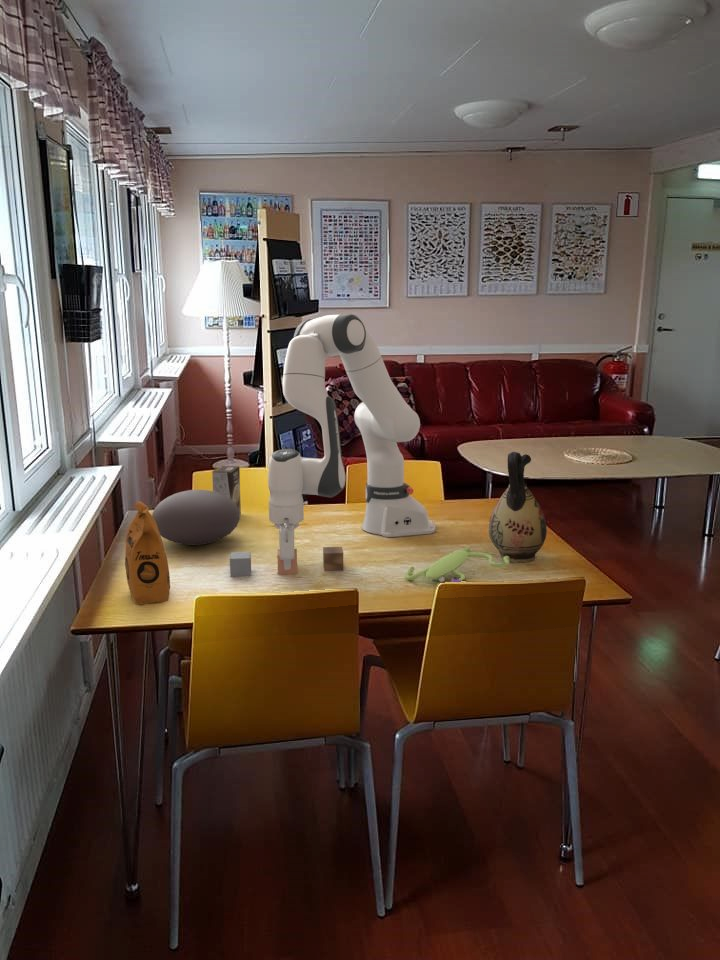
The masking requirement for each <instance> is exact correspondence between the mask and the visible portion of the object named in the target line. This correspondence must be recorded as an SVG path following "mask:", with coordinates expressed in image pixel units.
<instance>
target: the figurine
mask: <svg viewBox="0 0 720 960" xmlns="http://www.w3.org/2000/svg"><path fill="white" fill-rule="evenodd" d="M471 551H472V549H471V547H467V546H466V547H464V548H462V549H461V550H454V551H452V552H451V553H449V554H447V555H445V556H443V557H441V558H439V559H437V560H436V561H435V562H434V563H433V564H432V565H430V566H428V567H426V568H424V569H423V570H420V571H418V572H416V573H413V572H414V571H415V567H414V566H410V567H409V569H408V570H407V571H406V573H405V575H404V579H405V580H407V581H412V580H413V581H414V580H417V579H418V578H419V577H422V576H423V575H424V574H425V578H427V579H428V580H432V581H434V580H436V579H438V581H439V582H440V583H444V582H445V576H447V575H449V574H451V573H452V574H453V575H455V576H453V577H452V578H451V580H450V582H461V581H467V580H466V575H465V574H464V573H461V572H460V571H457V569H458V568H460V567H461V566H462V565H463V564H464V563H465V562H466V560H467V559H468V558H482V559H483V558H484V559H487V560H488V562H489V565H490V566H491V567H494V568H500V567H506V566H508V565H509V564H510V562H509V557H508V556H505V557H503V558H502V560H503V562H494V559H493V558H494V557H493V556H492V555H491V554H487V553H486V552H485V553H483V552H471ZM458 577H460V578H458Z"/></svg>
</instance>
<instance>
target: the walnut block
mask: <svg viewBox="0 0 720 960" xmlns="http://www.w3.org/2000/svg"><path fill="white" fill-rule="evenodd" d="M322 549H323V550H322V560H323V562H322V563H323V564H322V565H323V572H341V571H342V572H344V550H343V549H344V548H343V546H323V547H322Z"/></svg>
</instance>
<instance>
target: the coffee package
mask: <svg viewBox="0 0 720 960" xmlns="http://www.w3.org/2000/svg"><path fill="white" fill-rule="evenodd" d="M134 508H135V509H136V511H137V512H136V514H135V516H134V518H133V519H132V521H131V523H130V525H129V526H128V528H127V530H126V534H125V535H126V537H125V556H124V558H125V559H124V560H125V561H124V564H125V574H126V581H127V585H128V589H129V591H130V594H131V597H132V599H133V601H134V603H136V605H143V604H147V605H148V604H149V605H150V604H153V603H156V604H157V603H162V602H163V603H164V602H167V601H168V600H169V597H170V596H169V595H170V588H171V578H170V577H171V576H170V568H169V561H168V556H167V553H166V548H165V544H164V541H163V539H162V538H163V537H162V536H161V535H160V533H159V530H158V527H157V523H156V521H155V520H154V518H153V516H152V513H150V512H149V506H147V505H146V504H145V503H143V502H142V501H137V502H135V504H134Z"/></svg>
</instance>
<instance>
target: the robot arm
mask: <svg viewBox="0 0 720 960" xmlns="http://www.w3.org/2000/svg"><path fill="white" fill-rule="evenodd" d="M335 356H339V357H340V359H341V362H342V365H343V367H344V370H345V372H346V375H347V377H348V379H349V382H350V384H351V388H352V390H353V392H354V394H355V395H356V396H357V397H358V398H359V400H361V402H360V403H359V404H358V405H357V407H356V408H355V411H354V415H353V418H354V423H355V425H356V427H357V428H358V430H359V432H360V434H361V437H362V441H363V442H362V443H363V445H364V449H365V455H366V462H367V463H366V464H367V466H366V468H367V469H366V472H367V474H366V475H367V482H366V483H365V493H364V494H365V496H364V497H365V502H366V505H365V512H364V517H363V522H362V525H361V529H362V530H363V531H364V532H367V533H370V534H375V535H379V536H383V537H385V538H393V537H394V538H395V537H404V536H417V535H418V536H419V535H427V534H429V535H430V534H434V533H435V532H436V525H435V522H434V521H433V520H431V519H429V516H428V511H427V509H426V507H425V505H424V504H422V503H421V502H419V501H418V500H417V499H416V498H414V497H413V496H412V495H413V493H414V488H413V487H412V486H410V485H409V484H408V483H407V482H406V483H405V479H404V478H405V459H404V456H403V454H402V452H401V451H400V449H399V447H398V443H404V442H405V443H406V442H410V441H412V440H413V439H414V438H416V437H417V435H418V433H419V431H420V428H421V421H420V420H421V419H420V417H419V414H418V413H417V412H416V411H415V410H413V408H411V406H410V405H409V404H408V403H407V402H406V401H405V399H404V397H403V395H402V394H401V393H400V391H399V390H398V388H397V387H396V386H395V384H394V383H393V380H392V378H391V376H390V375H389V374H390V373H389V372H388V369H387V367H386V365H385V362H384V360H383V356H382V355H381V352H380V350H379V348H378V346H377V343H376V341H375V340H374V338H373V336H372V335H371V332H370V331H369V330H368V328H367V327H366V326H365V325H364V323H363V321H362V320H361V319H360V318H359V317H358V316H357V315H355V314H352V313H340V314H327V315H323V316H320V317H316V318H312V319H311V318H310V319H307V320H304V321H302V322H301V323H299V324H298V326H297V327H296V328H295V331H294V334H293V338H292V339H291V340H290V341H289V343H288V346H287V349H286V354H285V359H284V364H283V365H284V367H283V371H282V372H283V373H282V374H283V375H282V393H283V394H282V395H283V397H284V398H285V400H286V402H287V403H288V404H289V405H290V406H291V407H292V408H295V409H296V410H298V411H299V412H302V413H304V414H306V415H309V416H310V417H312V418H313V419H315V420H317V422H318V423H319V424H320V426H321V432H322V443H323V451H324V452H323V453H324V456H323V457H322V458H316V457H304V456H301V454H300V452H299V451H297V450H295V449H292V448H284V449H283V448H282V449H279V450H275V451H274V452H272V453H271V455H270V456H269V457H270V458H269V462H268V475H267V476H268V477H267V479H268V480H267V484H268V490H269V499H268V521H269V522H270V523H272V524H273V525H274V528H276V529H278V534H279V535H278V537H279V539H278V542H279V549H280V559H281V560H283V561H284V569H285V570H290V569H291V559H294V556H295V553H294V549H295V529H297V528H298V527H299V526H300V523H301V522H303V521H304V520H305V518H304V517H305V516H304V515H305V513H304V508H305V507H304V499H303V495H313V496H315V495H316V496H319V497H326V498H330V499H331V498H334V497H336V496H337V495H338V494H340V493H341V492H342V491H343V490H344V488H345V486H346V472H345V471H346V470H345V465H344V461H343V454H342V453H343V452H342V443H341V442H342V441H341V434H340V426H339V425H340V422H339V416H338V410H337V405H336V402H335V399H334V398H332V397H331V396H329V394H328V391H327V390H326V384H325V382H326V381H325V379H326V360H327V358H332V357H335Z"/></svg>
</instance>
